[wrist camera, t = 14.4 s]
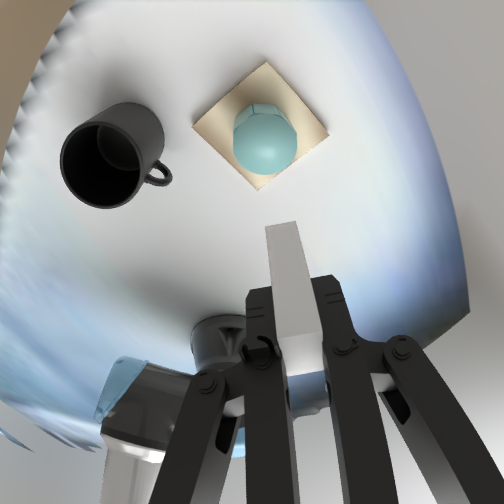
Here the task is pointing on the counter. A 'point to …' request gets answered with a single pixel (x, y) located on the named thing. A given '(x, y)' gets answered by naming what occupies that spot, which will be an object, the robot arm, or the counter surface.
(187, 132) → the counter surface
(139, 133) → the mug
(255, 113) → the cap
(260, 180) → the post block
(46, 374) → the counter surface
